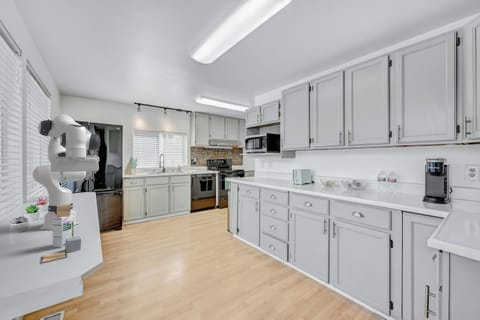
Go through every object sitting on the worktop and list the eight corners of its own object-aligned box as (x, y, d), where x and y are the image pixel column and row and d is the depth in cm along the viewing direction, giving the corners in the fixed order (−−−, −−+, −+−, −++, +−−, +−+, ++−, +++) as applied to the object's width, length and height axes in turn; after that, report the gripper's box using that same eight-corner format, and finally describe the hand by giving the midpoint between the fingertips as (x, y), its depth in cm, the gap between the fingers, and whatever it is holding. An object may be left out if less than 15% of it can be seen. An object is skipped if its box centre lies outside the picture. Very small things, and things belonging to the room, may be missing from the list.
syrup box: (62, 248, 99) (62, 217, 99) (52, 247, 100) (52, 216, 100) (73, 243, 104) (74, 214, 104) (64, 242, 105) (64, 213, 106)
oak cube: (56, 215, 102) (56, 205, 103) (69, 213, 106) (69, 203, 106) (56, 217, 99) (56, 206, 99) (70, 215, 102) (70, 205, 102)
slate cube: (65, 249, 96) (65, 238, 97) (78, 246, 100) (79, 236, 100) (66, 252, 93) (67, 241, 93) (80, 250, 96) (81, 239, 97)
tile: (41, 257, 89) (41, 255, 89) (66, 251, 95) (66, 250, 95) (39, 264, 83) (39, 263, 83) (67, 258, 88) (67, 256, 88)
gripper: (98, 155, 121) (98, 178, 121) (51, 154, 108) (50, 180, 108) (100, 154, 116) (99, 179, 116) (50, 153, 103) (50, 181, 103)
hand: (75, 180), depth 112 cm, fingers open, 8 cm apart
